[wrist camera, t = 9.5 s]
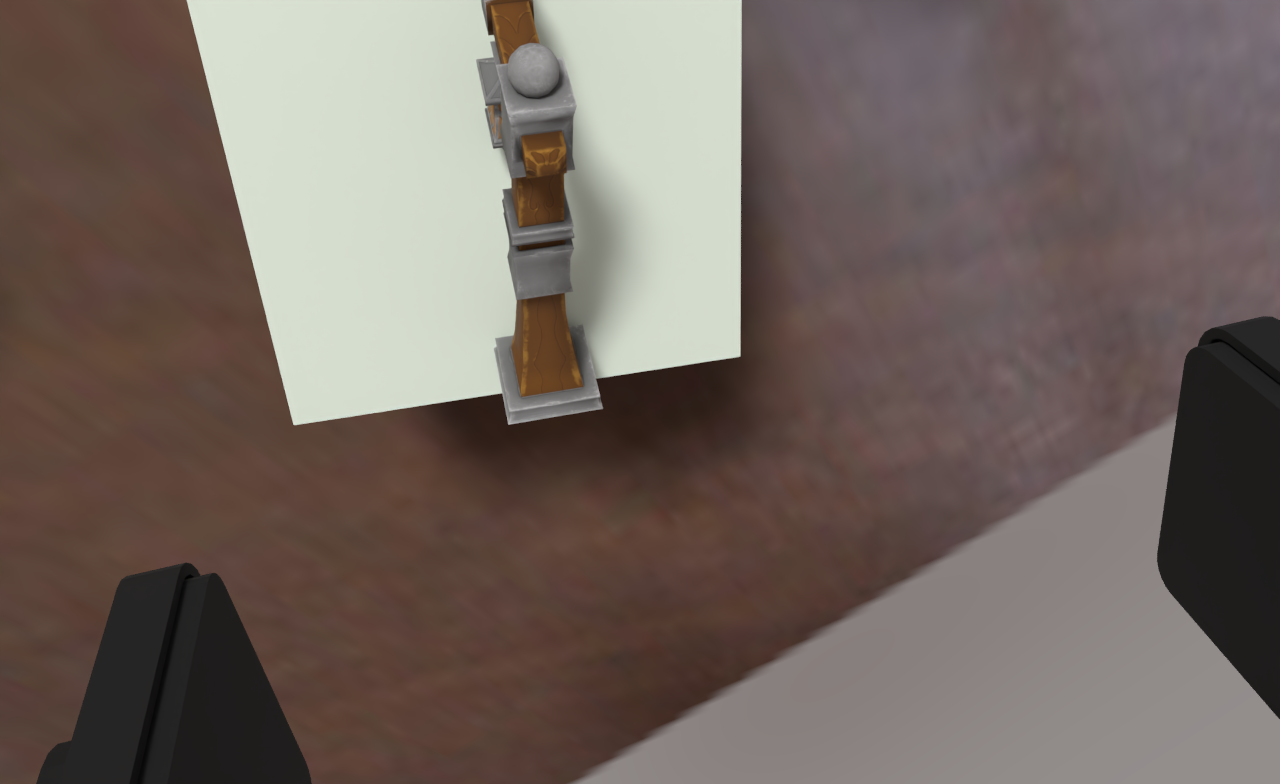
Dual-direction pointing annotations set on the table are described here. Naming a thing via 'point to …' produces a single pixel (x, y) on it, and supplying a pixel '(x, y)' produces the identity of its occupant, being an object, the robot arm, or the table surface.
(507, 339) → the wooden post with brackets
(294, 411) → the top block
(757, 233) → the table surface
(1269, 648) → the robot arm
